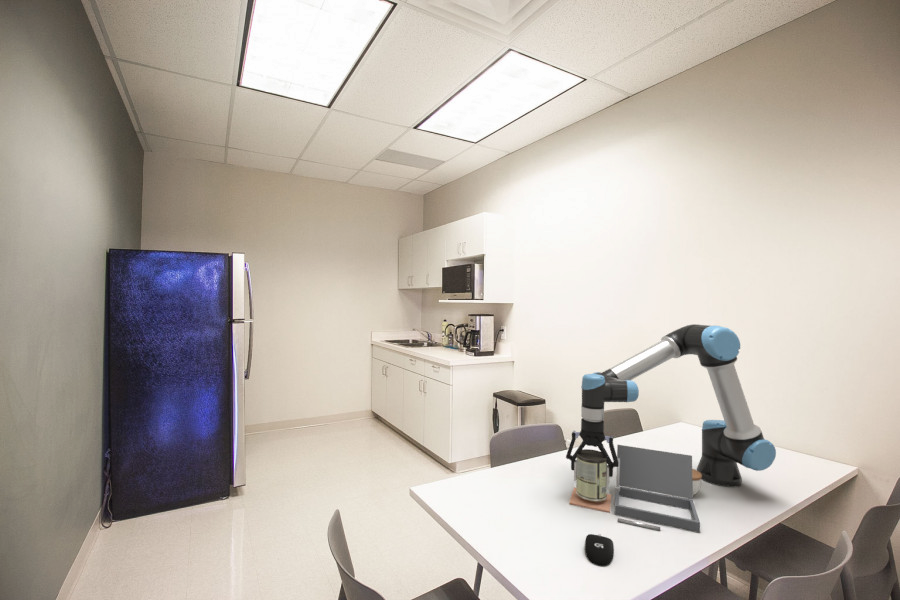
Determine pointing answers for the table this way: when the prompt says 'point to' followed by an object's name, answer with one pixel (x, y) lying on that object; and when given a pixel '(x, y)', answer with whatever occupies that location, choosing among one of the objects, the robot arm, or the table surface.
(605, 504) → the pad
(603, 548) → the computer mouse
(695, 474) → the lidded jar
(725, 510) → the table surface
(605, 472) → the coffee can
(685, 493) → the case
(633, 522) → the rod
